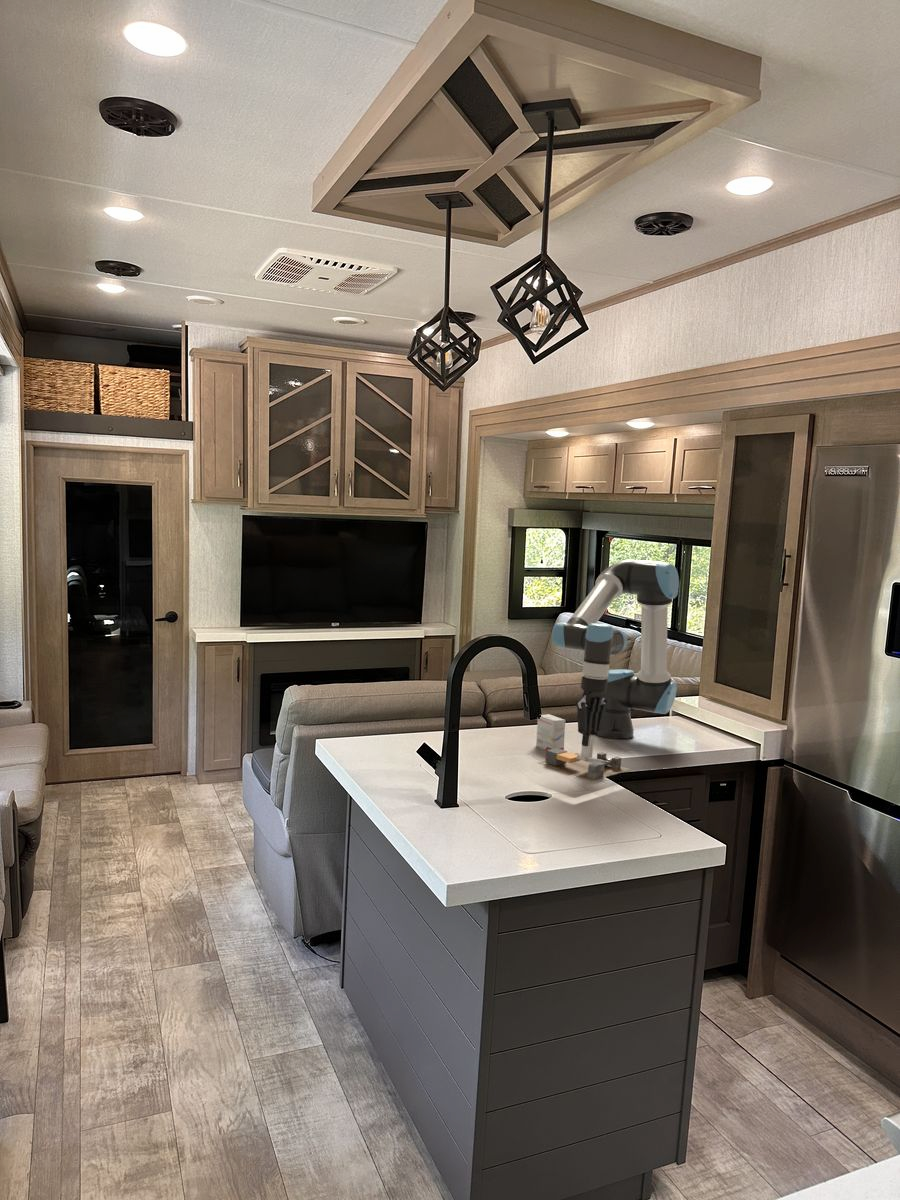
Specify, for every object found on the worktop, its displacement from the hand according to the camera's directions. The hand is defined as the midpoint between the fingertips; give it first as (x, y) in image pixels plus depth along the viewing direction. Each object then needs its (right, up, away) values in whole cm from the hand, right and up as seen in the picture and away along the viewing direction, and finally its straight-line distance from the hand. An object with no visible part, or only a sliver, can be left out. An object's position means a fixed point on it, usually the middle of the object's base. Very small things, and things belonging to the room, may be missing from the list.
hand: (586, 756), depth 243 cm
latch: (-6, -4, +5) cm, 9 cm away
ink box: (-8, -4, +24) cm, 25 cm away
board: (0, -6, +7) cm, 9 cm away
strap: (+3, -3, +4) cm, 6 cm away
